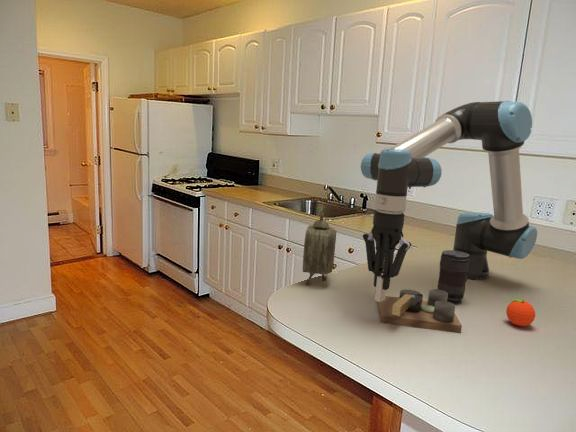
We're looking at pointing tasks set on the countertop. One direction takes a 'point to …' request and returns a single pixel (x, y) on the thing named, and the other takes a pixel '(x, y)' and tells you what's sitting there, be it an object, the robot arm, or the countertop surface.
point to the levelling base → (424, 313)
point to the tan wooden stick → (408, 302)
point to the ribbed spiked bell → (319, 248)
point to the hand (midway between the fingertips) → (379, 299)
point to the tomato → (520, 312)
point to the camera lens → (453, 274)
